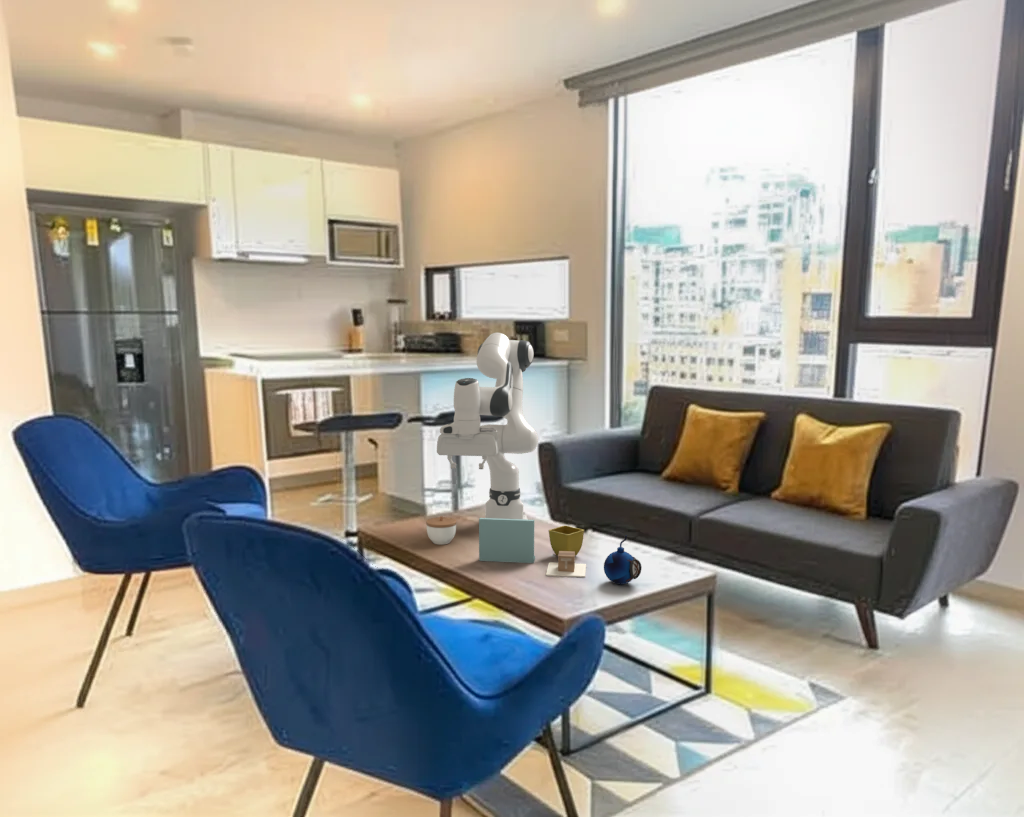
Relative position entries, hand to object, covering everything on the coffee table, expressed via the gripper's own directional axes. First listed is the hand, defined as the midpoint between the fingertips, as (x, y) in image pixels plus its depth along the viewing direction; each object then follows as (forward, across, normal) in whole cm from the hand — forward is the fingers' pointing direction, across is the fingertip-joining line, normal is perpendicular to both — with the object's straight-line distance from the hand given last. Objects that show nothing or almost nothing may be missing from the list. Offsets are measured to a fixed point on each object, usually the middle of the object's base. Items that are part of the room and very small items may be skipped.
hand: (467, 468), depth 245 cm
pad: (+29, -34, +13) cm, 47 cm away
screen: (+29, -14, +5) cm, 33 cm away
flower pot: (+30, -33, -2) cm, 44 cm away
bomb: (+29, -51, +23) cm, 63 cm away
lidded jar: (+30, +12, -13) cm, 34 cm away
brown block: (+29, -34, +13) cm, 46 cm away
